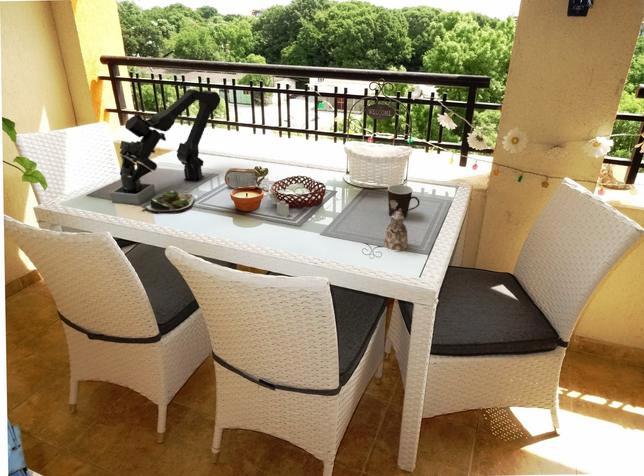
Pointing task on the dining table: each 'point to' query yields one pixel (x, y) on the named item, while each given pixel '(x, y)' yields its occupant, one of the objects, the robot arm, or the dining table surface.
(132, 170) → the supplement bottle
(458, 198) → the dining table surface
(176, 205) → the salad plate
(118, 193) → the square tray
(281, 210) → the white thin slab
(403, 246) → the figurine
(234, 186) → the tin
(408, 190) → the coffee mug
